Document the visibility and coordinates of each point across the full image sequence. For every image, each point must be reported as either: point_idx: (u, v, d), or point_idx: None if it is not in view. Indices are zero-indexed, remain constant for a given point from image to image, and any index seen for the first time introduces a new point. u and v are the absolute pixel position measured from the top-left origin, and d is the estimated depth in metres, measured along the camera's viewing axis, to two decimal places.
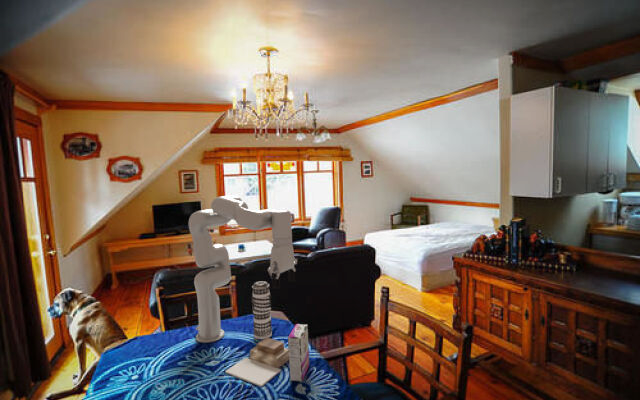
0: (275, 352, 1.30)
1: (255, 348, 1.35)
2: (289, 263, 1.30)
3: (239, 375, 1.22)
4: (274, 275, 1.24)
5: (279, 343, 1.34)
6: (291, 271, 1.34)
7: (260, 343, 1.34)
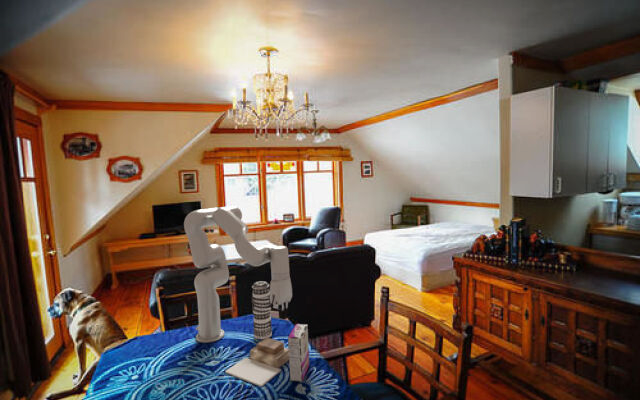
0: (275, 352, 1.30)
1: (255, 348, 1.35)
2: (287, 295, 1.39)
3: (239, 375, 1.22)
4: (280, 307, 1.38)
5: (279, 343, 1.34)
6: None
7: (260, 343, 1.34)
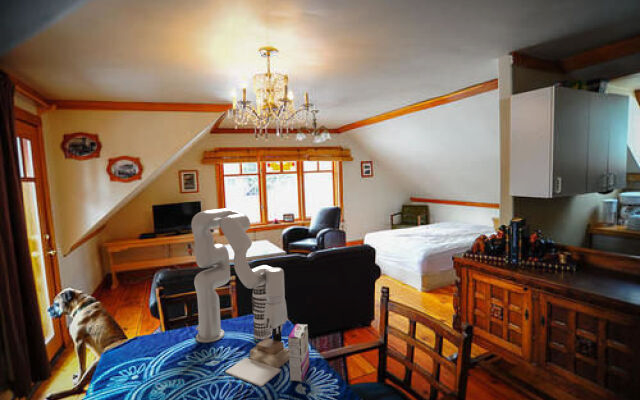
0: (275, 352, 1.30)
1: (255, 348, 1.35)
2: (282, 318, 1.37)
3: (239, 375, 1.22)
4: (275, 330, 1.35)
5: (279, 343, 1.33)
6: None
7: (260, 343, 1.34)
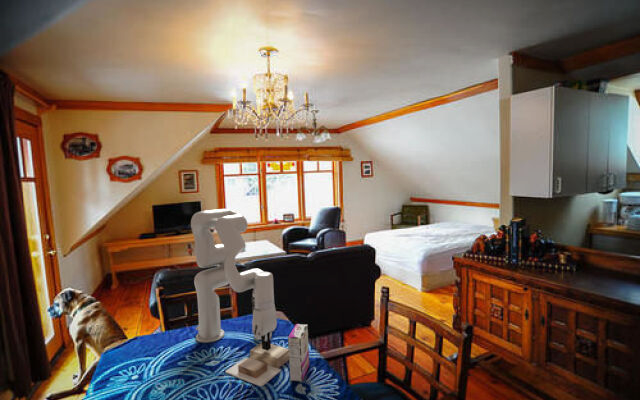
0: (265, 366, 1.25)
1: (255, 348, 1.35)
2: (271, 325, 1.31)
3: (239, 375, 1.22)
4: (263, 338, 1.29)
5: None
6: None
7: None
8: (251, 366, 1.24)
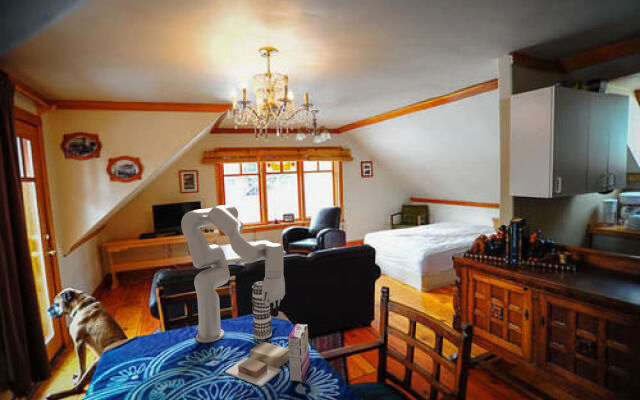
0: (265, 366, 1.25)
1: (255, 348, 1.35)
2: (280, 293, 1.38)
3: (239, 375, 1.22)
4: (272, 305, 1.37)
5: None
6: None
7: None
8: (251, 366, 1.24)
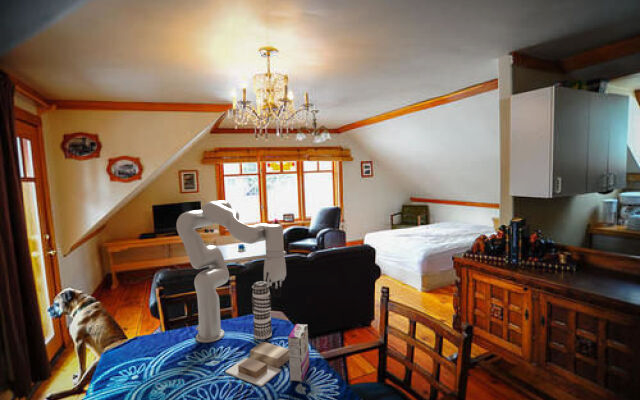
0: (265, 366, 1.25)
1: (255, 348, 1.35)
2: (281, 273, 1.40)
3: (239, 375, 1.22)
4: (274, 285, 1.38)
5: None
6: None
7: None
8: (251, 366, 1.24)
